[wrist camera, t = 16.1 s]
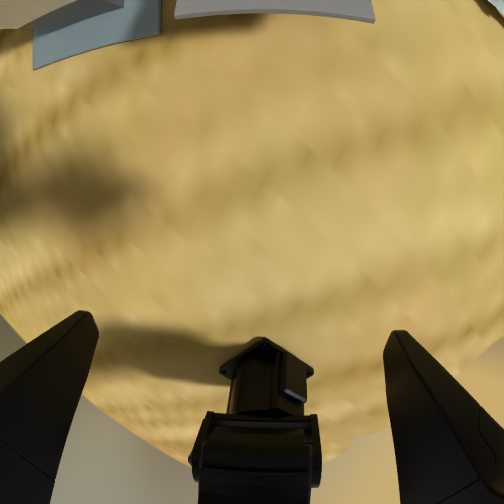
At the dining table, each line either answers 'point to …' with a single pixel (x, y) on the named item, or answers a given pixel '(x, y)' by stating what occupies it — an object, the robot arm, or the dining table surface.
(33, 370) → the robot arm
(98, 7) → the box
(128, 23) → the rubber mat
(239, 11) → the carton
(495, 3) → the food on plate
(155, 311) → the dining table surface
